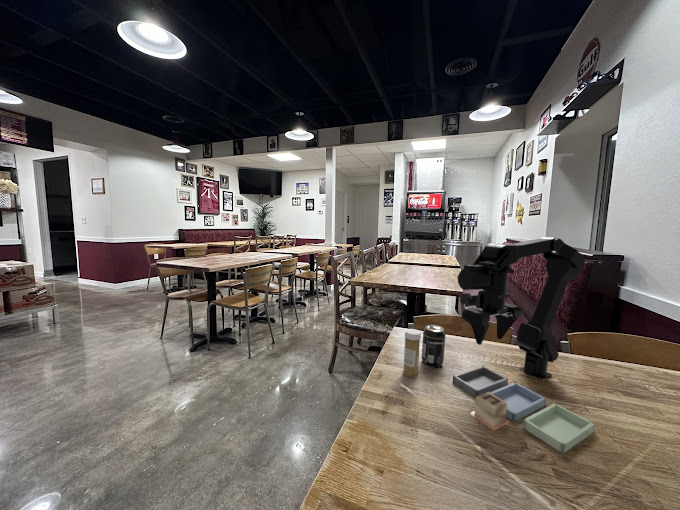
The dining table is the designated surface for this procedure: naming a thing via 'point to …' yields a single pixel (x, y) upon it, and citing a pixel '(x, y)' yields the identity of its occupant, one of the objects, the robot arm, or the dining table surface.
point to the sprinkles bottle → (411, 352)
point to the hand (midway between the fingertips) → (489, 341)
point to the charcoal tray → (480, 381)
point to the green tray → (558, 427)
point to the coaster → (488, 424)
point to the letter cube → (490, 409)
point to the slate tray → (519, 400)
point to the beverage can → (433, 345)
